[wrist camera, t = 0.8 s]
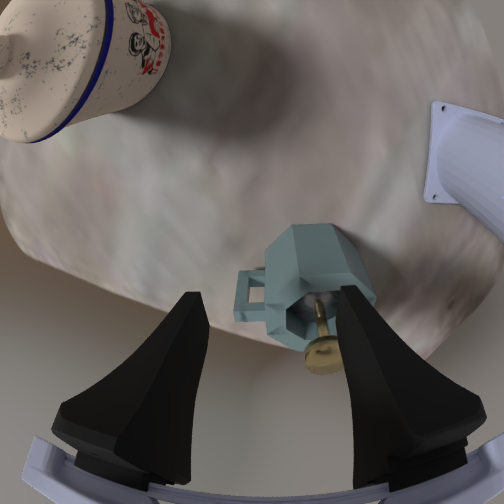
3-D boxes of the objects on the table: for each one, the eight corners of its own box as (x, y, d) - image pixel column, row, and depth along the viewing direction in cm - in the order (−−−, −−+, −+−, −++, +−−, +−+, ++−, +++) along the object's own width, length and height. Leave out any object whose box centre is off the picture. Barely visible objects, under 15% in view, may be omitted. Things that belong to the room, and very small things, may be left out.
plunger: (345, 277, 18) (364, 340, 13) (339, 314, 20) (352, 375, 15) (292, 280, 18) (297, 346, 14) (292, 317, 20) (295, 380, 16)
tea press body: (357, 222, 20) (383, 270, 15) (348, 293, 24) (363, 345, 19) (235, 228, 21) (225, 278, 16) (245, 298, 25) (240, 352, 20)
